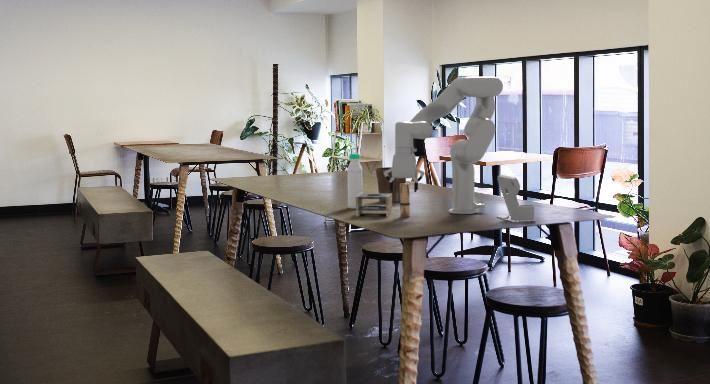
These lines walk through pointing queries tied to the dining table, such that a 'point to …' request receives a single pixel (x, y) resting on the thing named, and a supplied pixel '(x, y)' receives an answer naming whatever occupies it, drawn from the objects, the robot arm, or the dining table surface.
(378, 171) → the plant pot
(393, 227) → the dining table surface
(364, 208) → the collar stand
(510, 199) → the phone holder
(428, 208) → the dining table surface
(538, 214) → the dining table surface
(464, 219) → the dining table surface
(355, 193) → the water bottle
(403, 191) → the tan cylinder
